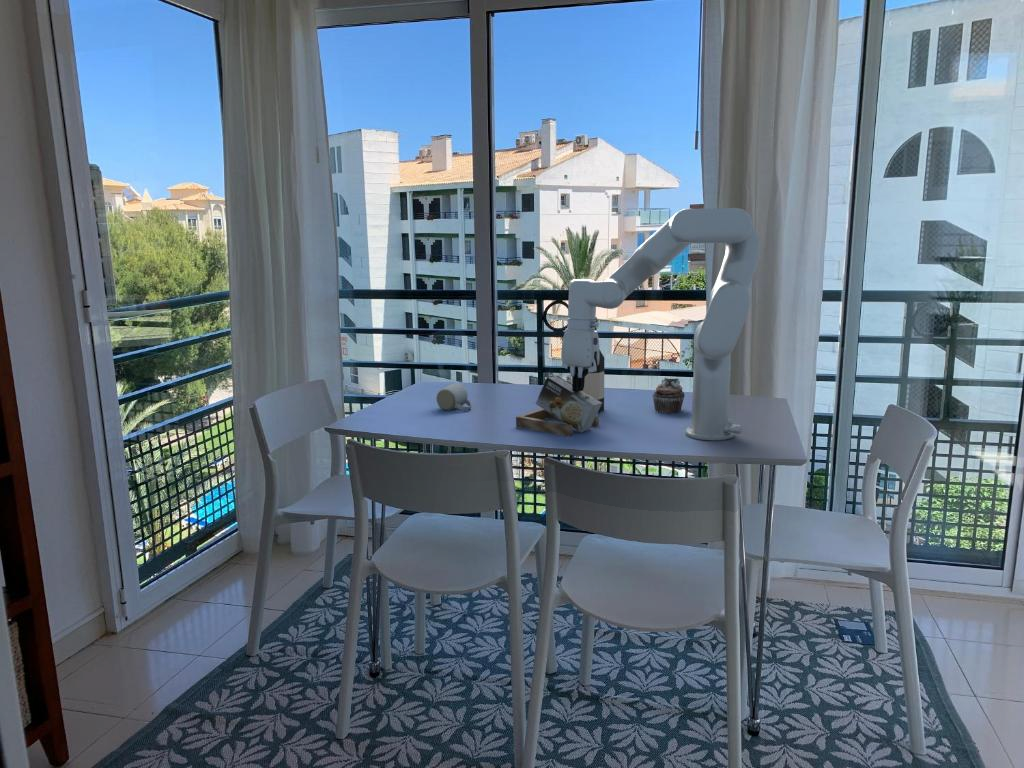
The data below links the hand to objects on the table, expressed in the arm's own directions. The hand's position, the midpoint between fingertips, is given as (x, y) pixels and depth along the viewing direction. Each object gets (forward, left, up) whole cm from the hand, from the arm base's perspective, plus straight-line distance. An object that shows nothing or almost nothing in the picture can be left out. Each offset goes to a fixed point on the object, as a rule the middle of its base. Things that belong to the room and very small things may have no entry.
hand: (577, 390), depth 207 cm
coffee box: (-4, -1, -8) cm, 9 cm away
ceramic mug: (+47, 0, -12) cm, 48 cm away
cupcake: (-10, -36, -12) cm, 39 cm away
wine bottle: (+10, -23, -12) cm, 28 cm away
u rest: (+7, -1, -12) cm, 14 cm away
